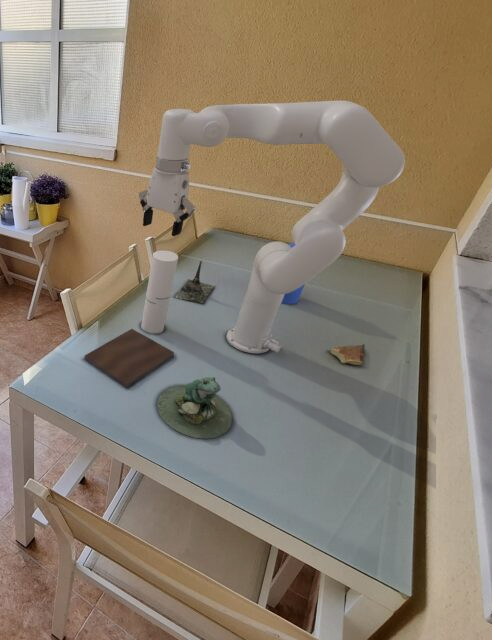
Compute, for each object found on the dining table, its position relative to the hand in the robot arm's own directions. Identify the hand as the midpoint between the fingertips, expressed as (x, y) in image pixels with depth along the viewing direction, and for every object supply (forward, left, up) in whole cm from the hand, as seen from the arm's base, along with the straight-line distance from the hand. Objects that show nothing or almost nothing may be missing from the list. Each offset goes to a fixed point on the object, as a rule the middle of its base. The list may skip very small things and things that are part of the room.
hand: (161, 229), depth 115 cm
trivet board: (-7, +16, -33) cm, 37 cm away
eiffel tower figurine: (+2, -32, -33) cm, 46 cm away
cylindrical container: (-2, -2, -33) cm, 33 cm away
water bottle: (-21, -53, -33) cm, 66 cm away
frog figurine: (-32, +20, -33) cm, 50 cm away
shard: (-48, -34, -33) cm, 67 cm away
